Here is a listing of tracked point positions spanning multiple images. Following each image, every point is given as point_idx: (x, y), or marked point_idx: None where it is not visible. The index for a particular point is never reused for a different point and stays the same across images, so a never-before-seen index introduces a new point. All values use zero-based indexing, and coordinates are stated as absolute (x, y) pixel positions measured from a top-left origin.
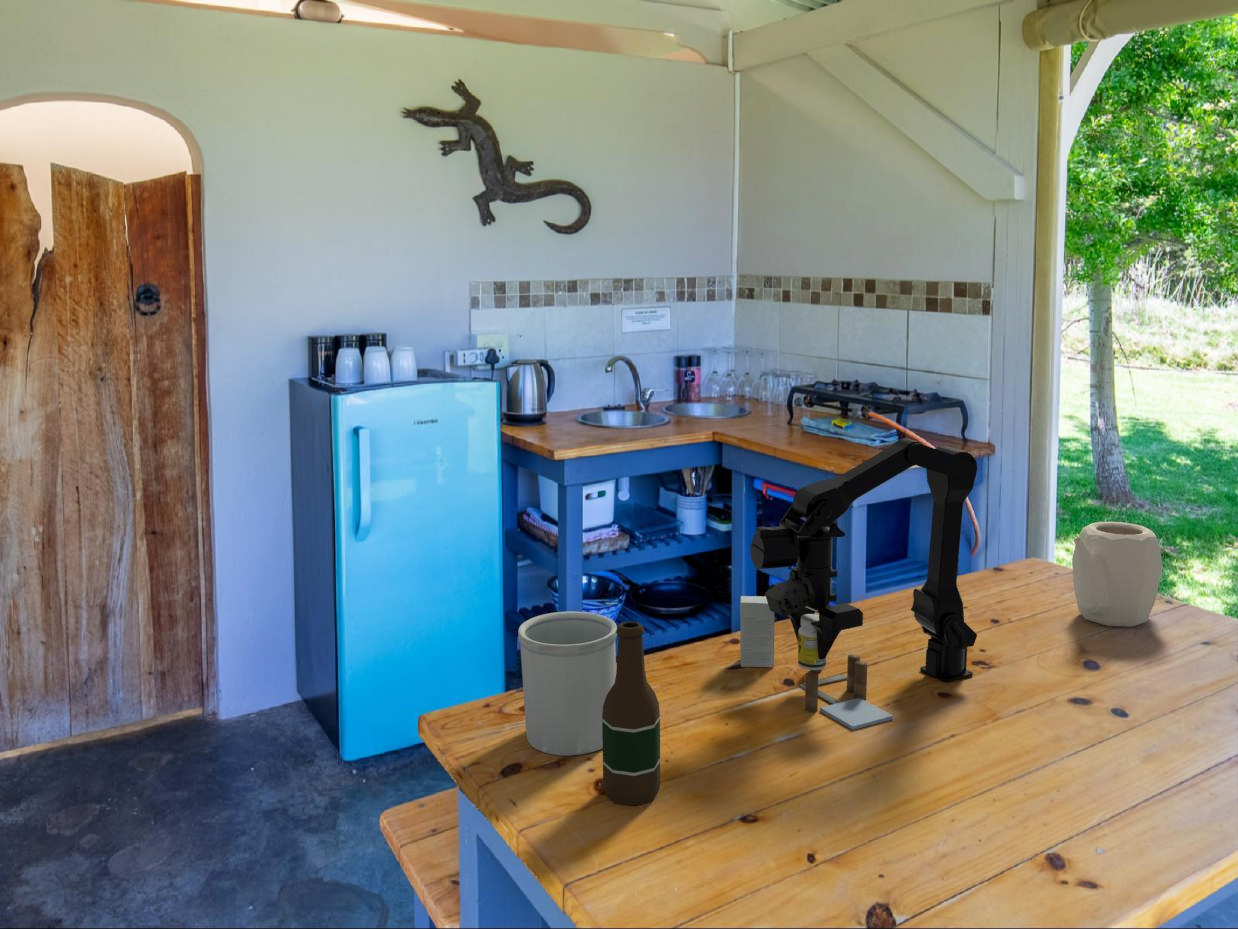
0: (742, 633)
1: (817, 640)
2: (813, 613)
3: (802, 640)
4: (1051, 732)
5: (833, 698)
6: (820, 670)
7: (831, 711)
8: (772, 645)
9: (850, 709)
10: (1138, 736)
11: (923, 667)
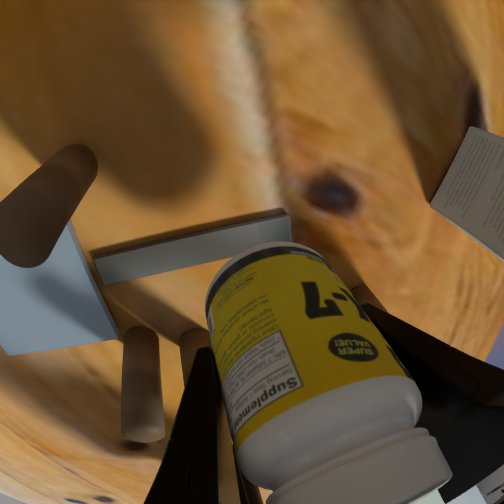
0: None
1: (211, 438)
2: None
3: (310, 359)
4: (12, 462)
5: (138, 274)
6: None
7: None
8: (478, 233)
9: (37, 286)
10: (22, 487)
11: None
